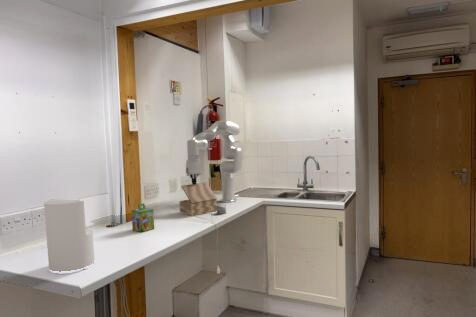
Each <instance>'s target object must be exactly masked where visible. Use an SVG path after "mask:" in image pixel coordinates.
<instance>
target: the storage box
mask: <svg viewBox="0 0 476 317" xmlns="http://www.w3.org/2000/svg"><path fill="white" fill-rule="evenodd" d="M178 203H179V213H181V214H184V215H188V216H191V217H194V216H199V215H200V216H201V215H205V214H210V213H213V212H217V206H218V204H217V199H216V200H211V201H206V202H200V203H195V204H191V202H190V200H189V199H188V198H187V199H183V200H179V202H178Z"/></svg>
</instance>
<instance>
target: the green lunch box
mask: <svg viewBox="0 0 476 317" xmlns="http://www.w3.org/2000/svg"><path fill="white" fill-rule="evenodd" d="M141 207H142V208H141ZM130 212H131V227H132V231H133V232H141V233H144V232H148V231H150V230H151V231H152V230H155V216H154V214H155V212H154V209H151V208H147V207H146V206H145V203H140V204H137V209H132V210H130Z"/></svg>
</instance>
